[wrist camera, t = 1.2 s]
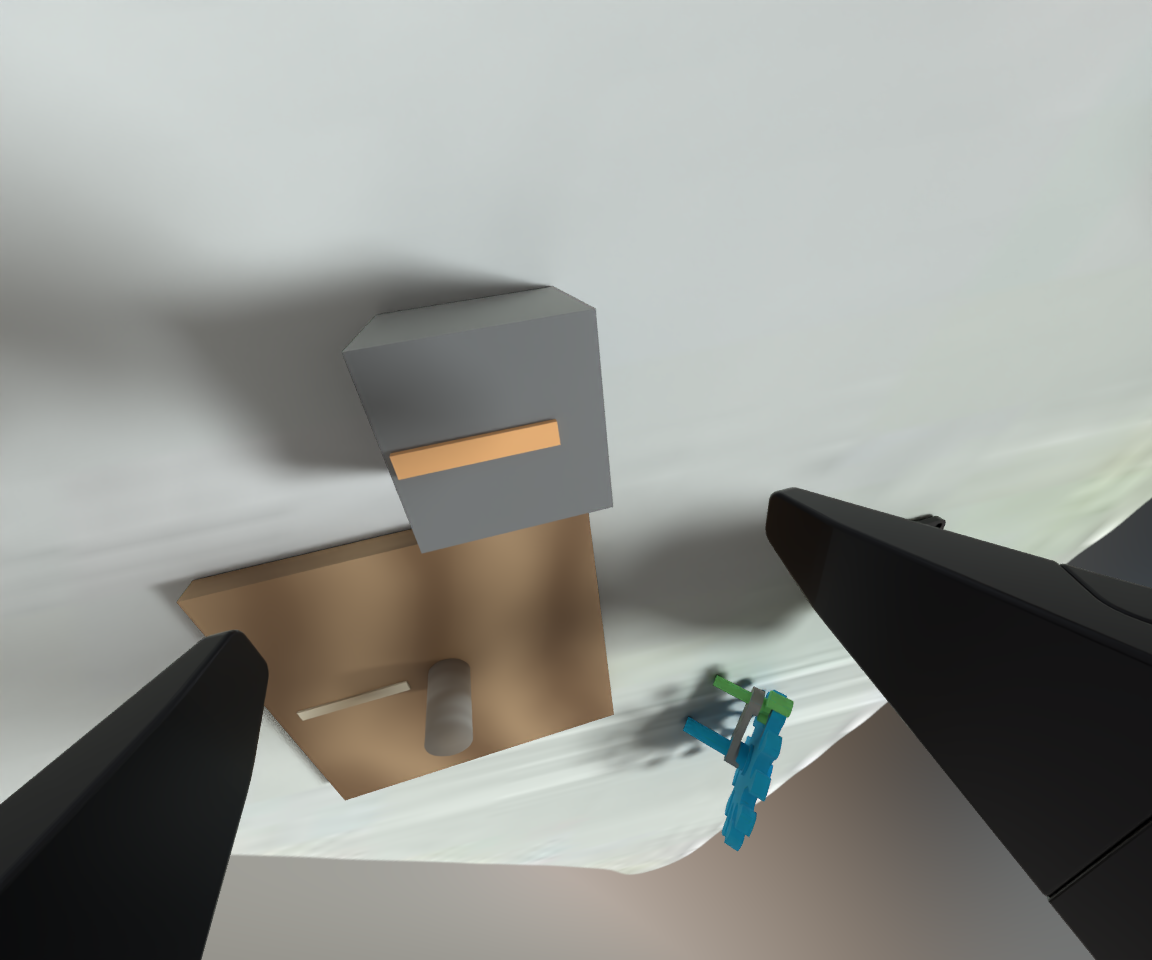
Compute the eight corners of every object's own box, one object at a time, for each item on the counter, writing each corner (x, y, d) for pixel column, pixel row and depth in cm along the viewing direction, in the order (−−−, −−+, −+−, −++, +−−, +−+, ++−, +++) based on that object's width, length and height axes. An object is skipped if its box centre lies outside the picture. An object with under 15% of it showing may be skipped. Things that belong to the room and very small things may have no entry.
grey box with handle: (553, 286, 15) (597, 309, 10) (573, 439, 18) (615, 510, 14) (376, 314, 14) (339, 353, 10) (429, 471, 17) (421, 557, 13)
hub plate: (580, 489, 20) (612, 554, 16) (607, 697, 28) (633, 773, 24) (192, 580, 17) (114, 684, 13) (349, 777, 25) (330, 878, 21)
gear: (753, 770, 35) (734, 895, 26) (683, 729, 37) (644, 831, 28) (805, 660, 31) (802, 762, 23) (724, 622, 34) (694, 702, 25)
